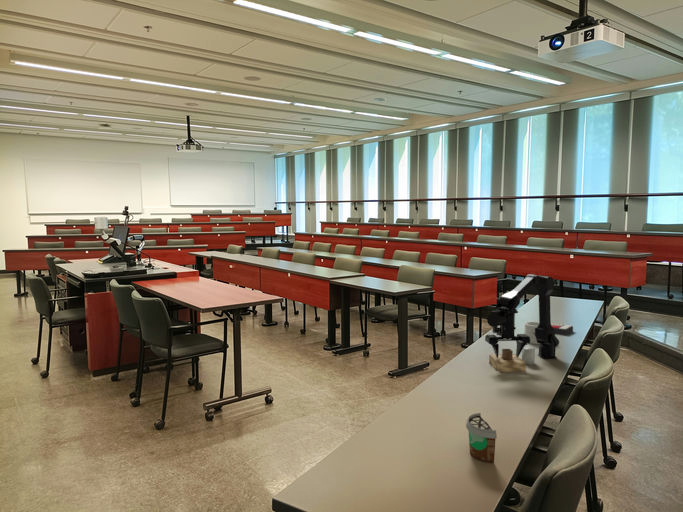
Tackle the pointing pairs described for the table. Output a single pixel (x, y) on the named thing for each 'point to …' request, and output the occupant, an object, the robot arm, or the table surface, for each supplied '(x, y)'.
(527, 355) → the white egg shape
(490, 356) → the socket block
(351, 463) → the table surface
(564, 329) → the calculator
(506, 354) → the square peg
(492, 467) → the table surface
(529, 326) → the mug
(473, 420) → the food container
